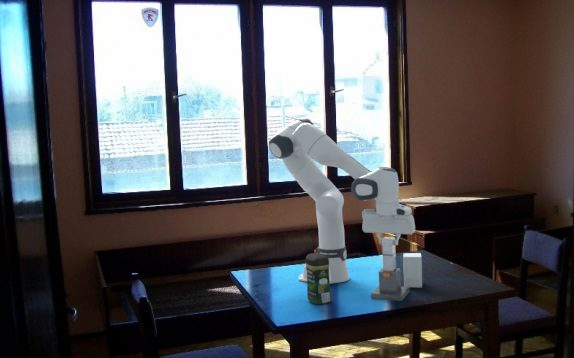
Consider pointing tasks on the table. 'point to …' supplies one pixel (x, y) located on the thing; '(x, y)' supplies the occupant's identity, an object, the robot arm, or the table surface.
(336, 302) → the table surface
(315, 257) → the coffee jar
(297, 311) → the table surface
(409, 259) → the supplement box
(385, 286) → the stand
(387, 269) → the column
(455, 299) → the table surface
